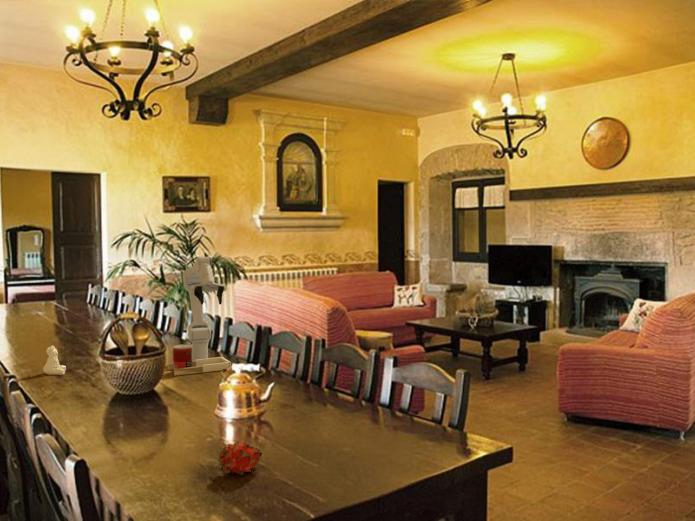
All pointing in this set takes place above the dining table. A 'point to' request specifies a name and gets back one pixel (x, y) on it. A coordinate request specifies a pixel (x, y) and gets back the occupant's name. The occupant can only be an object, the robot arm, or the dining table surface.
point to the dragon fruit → (239, 458)
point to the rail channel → (186, 369)
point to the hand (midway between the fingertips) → (211, 303)
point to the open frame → (213, 364)
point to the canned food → (182, 356)
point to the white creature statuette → (53, 363)
